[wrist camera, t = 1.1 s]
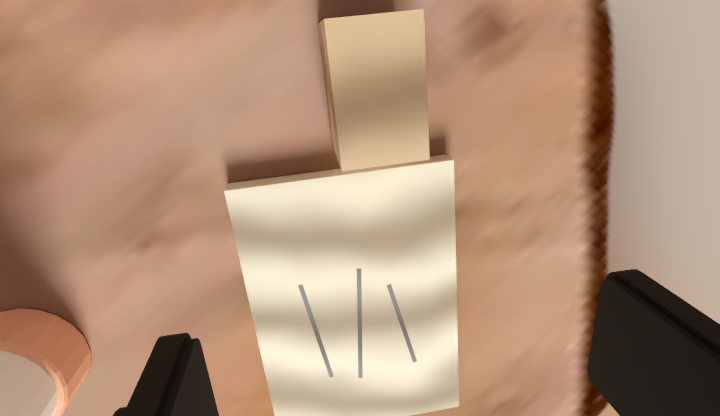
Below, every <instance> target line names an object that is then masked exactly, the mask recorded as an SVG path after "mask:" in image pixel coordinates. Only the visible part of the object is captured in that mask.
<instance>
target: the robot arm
mask: <svg viewBox="0 0 720 416" xmlns="http://www.w3.org/2000/svg"><path fill="white" fill-rule="evenodd" d="M588 375H589V378H590V380H591V382H592V384H593V385H594V386H595V387H596V389H597V390H598V391H599V392H600V393H601V394H602V395H603V397H604V398H605V399H606V400H607V401H608V402H609V404H610V405H611V406H612V407H613V408H614V409H615V410H616V412H617V413H618V414H619V415H620V416H720V324H718V323H717V322H715V321H714V320H712V319H711V318H709V317H708V316H706V315H705V314H703V313H702V312H700V311H699V310H697V309H696V308H694V307H693V306H691V305H690V304H688V303H687V302H685V301H684V300H683V299H681V298H680V297H678V296H677V295H675V294H673V293H672V292H671V291H669V290H668V289H666V288H664V287H663V286H662V285H660V284H659V283H657V282H656V281H654V280H653V279H651V278H650V277H648V276H647V275H645V274H644V273H642V272H640V271H639V270H635V269H634V270H633V269H631V270H624V271H618V272H612V273H609V274H608V275H607V277H606V279H605V280H603V281H602V283H601V286H600V292H599V299H598V305H597V312H596V318H595V324H594V331H593V337H592V344H591V350H590V356H589V363H588ZM113 416H219V414H218V410H217V406H216V402H215V398H214V394H213V390H212V386H211V382H210V378H209V374H208V370H207V367H206V363H205V359H204V355H203V351H202V347H201V343H200V340H199V339H198V338H195V339H191V337H190V335H189V334H188V333H182V334H175V335H168V336H161V337H159V338H158V340H157V342H156V344H155V346H154V348H153V350H152V353H151V355H150V357H149V359H148V361H147V364H146V366H145V368H144V370H143V372H142V375H141V377H140V379H139V381H138V383H137V386H136V388H135V390H134V392H133V394H132V397H131V399H130V401H129V403H128V405H127V407H123V408H119V409H118V410H117V411H115V413H114V415H113Z"/></svg>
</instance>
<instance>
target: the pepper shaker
mask: <svg viewBox="0 0 720 416" xmlns="http://www.w3.org/2000/svg"><path fill="white" fill-rule="evenodd" d="M90 365H91V352H90V348H89V346H88V344H87V342H86V340H85V338H84V336H83V335H82V334H81V333H80V332H79V331H78V330H77V329H76V328H75V327H74V326H73V325H72V324H70V323H69V322H67V321H65V320H64V319H62V318H60V317H59V316H57V315H54V314H50V313H47V312H44V311H41V310H35V309H19V308H18V309H13V310H7V311H2V312H0V416H61V415H62V414H63V412H64V411H65V409H66V407H67V406H68V404H69V403H70V401H71V400H72V398H73V396H74V395H75V393H76V392H77V390H78V388H79V387H80V385H81V384H82V382H83V381H84V379H85V377H86V375H87V373H88V370H89V368H90Z"/></svg>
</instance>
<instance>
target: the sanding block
mask: <svg viewBox="0 0 720 416" xmlns="http://www.w3.org/2000/svg"><path fill="white" fill-rule="evenodd" d="M318 30H319V39H320V47H321V55H322V63H323V71H324V79H325V87H326V95H327V104H328V112H329V120H330V128H331V136H332V144H333V148H334V151H335V154H336V156H337V159H338V162H339V165H340V168H341V170H342V172H343V171H350V170H358V169H365V168H373V167H380V166H388V165H395V164H403V163H410V162H418V161H425V160H430V152H429V127H428V102H427V77H426V53H425V28H424V9H418V10H408V11H398V12H388V13H378V14H368V15H358V16H348V17H338V18H328V19H323V20H322V21H321V22H320V23H319V24H318Z"/></svg>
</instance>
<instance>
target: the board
mask: <svg viewBox="0 0 720 416" xmlns="http://www.w3.org/2000/svg"><path fill="white" fill-rule="evenodd" d="M224 193H225V197H226V201H227V206H228V210H229V215H230V219H231V224H232V228H233V233H234V237H235V242H236V246H237V250H238V255H239V259H240V264H241V268H242V273H243V277H244V282H245V286H246V290H247V295H248V299H249V304H250V308H251V313H252V317H253V322H254V326H255V330H256V335H257V339H258V344H259V348H260V353H261V357H262V362H263V366H264V371H265V375H266V379H267V384H268V388H269V393H270V397H271V402H272V406H273V411H274V415H275V416H410V415H415V414H421V413H426V412H431V411H437V410H442V409H447V408H453V407H458V406H459V381H458V333H457V284H456V236H455V187H454V160H453V159H452V158H451V157H449V156H448V155H447V154H444V155H437V156H430V160H425V161H418V162H410V163H403V164H395V165H388V166H380V167H373V168H365V169H358V170H350V171H343V172H342V170H341V168H339V169H332V170H324V171H317V172H309V173H302V174H294V175H287V176H279V177H272V178H264V179H257V180H249V181H242V182H234V183H228V184H227V186H226V188H225V190H224Z"/></svg>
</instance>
